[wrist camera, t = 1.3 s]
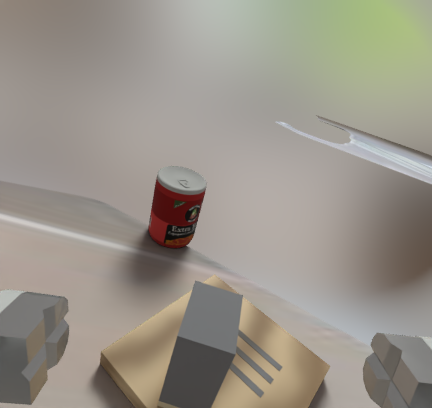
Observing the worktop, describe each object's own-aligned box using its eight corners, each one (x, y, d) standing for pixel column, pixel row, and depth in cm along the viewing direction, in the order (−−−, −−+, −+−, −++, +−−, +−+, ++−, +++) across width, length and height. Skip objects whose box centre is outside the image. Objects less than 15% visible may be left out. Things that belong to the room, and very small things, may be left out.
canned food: (166, 255, 48) (179, 195, 42) (138, 227, 52) (146, 169, 47) (202, 240, 53) (217, 185, 48) (173, 216, 57) (185, 163, 52)
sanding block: (205, 421, 28) (235, 354, 23) (157, 405, 28) (177, 335, 23) (216, 360, 33) (242, 295, 28) (175, 347, 33) (195, 280, 28)
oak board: (100, 363, 32) (101, 351, 31) (211, 284, 45) (214, 274, 44) (236, 535, 23) (243, 526, 22) (323, 376, 37) (330, 366, 36)
